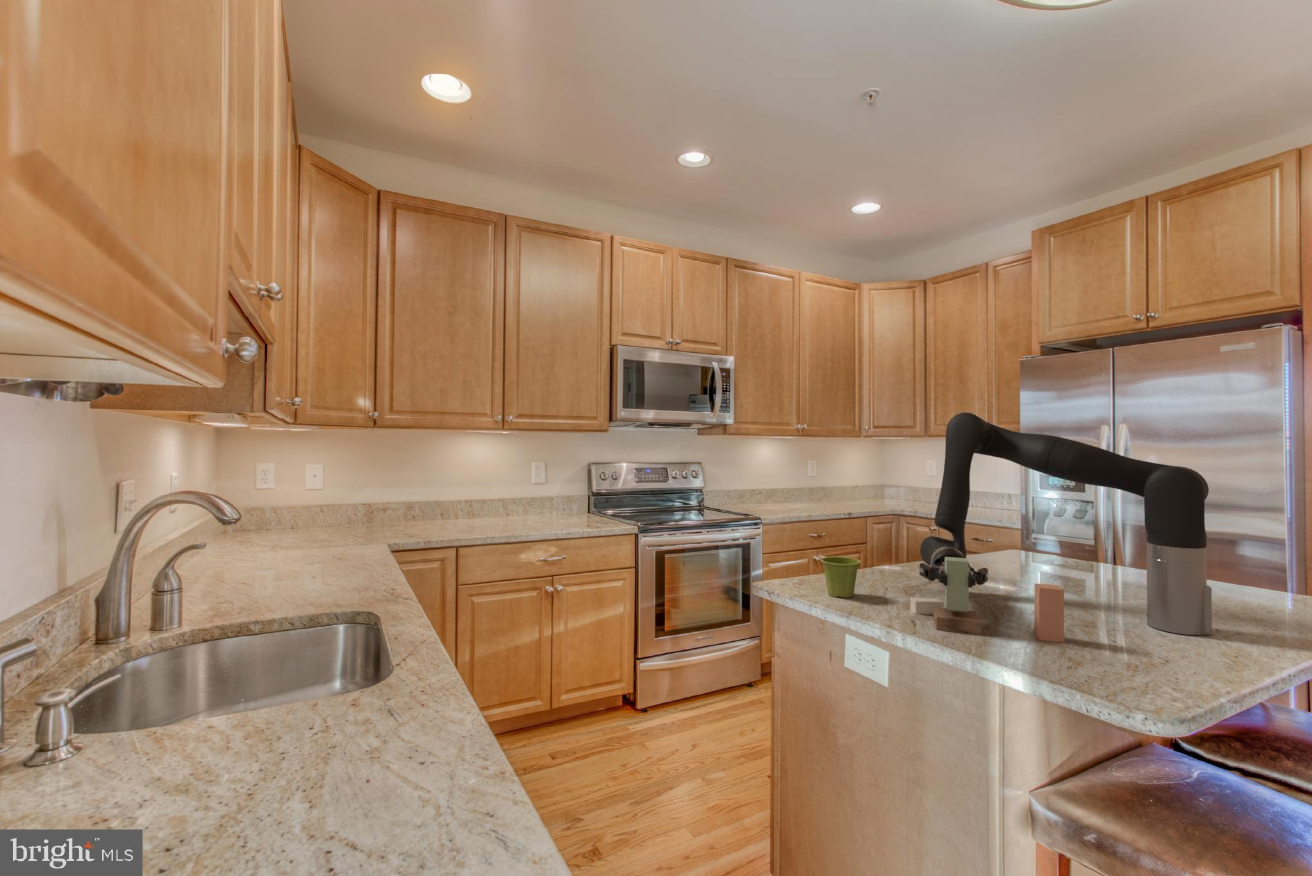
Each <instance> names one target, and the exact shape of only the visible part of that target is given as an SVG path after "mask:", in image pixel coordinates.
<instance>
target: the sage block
mask: <svg viewBox="0 0 1312 876" xmlns="http://www.w3.org/2000/svg"><path fill="white" fill-rule="evenodd" d="M969 562H970V561H968V559H967V557H966V558H954V557H945V572H946V574H947V586H946V585H944V608H946V609H947V610H957V611H968V610H969V587H968V576H969V565H970V563H969Z"/></svg>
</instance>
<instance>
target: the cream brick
mask: <svg viewBox="0 0 1312 876" xmlns="http://www.w3.org/2000/svg"><path fill="white" fill-rule="evenodd" d="M933 607H940V608H945V601H944V600H941V599H939V598H935V597H933V598H932V597H910V611H911V612H912V613H913V614H915V615H933Z"/></svg>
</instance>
